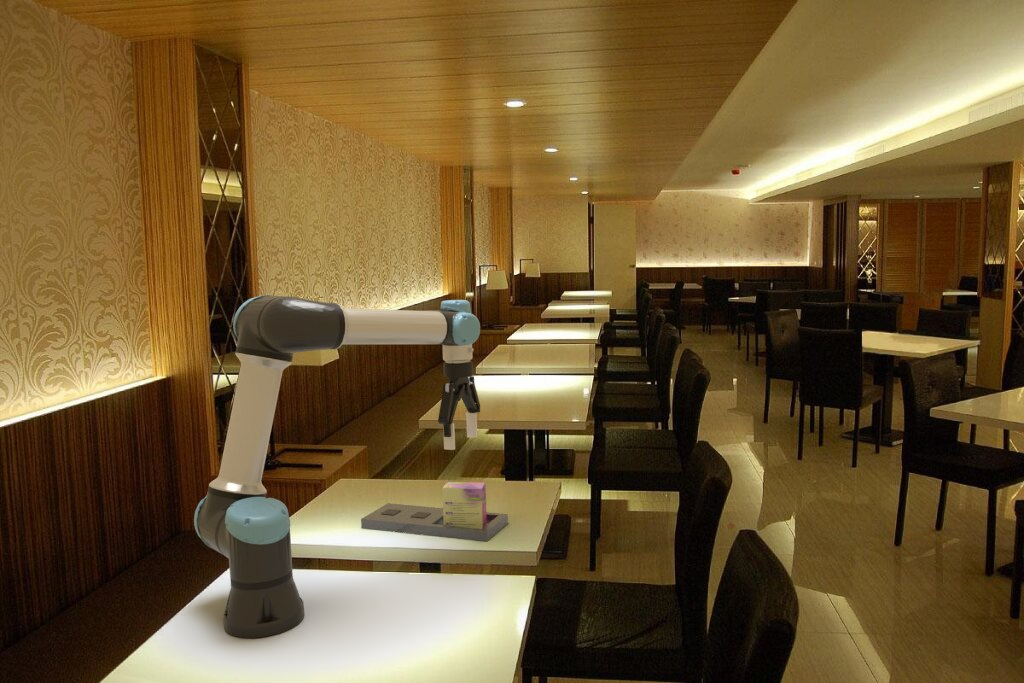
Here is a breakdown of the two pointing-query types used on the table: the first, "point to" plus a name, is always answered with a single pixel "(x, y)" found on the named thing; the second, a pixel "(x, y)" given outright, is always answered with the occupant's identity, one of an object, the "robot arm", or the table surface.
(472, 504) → the box
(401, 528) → the plate with rectangular opening
